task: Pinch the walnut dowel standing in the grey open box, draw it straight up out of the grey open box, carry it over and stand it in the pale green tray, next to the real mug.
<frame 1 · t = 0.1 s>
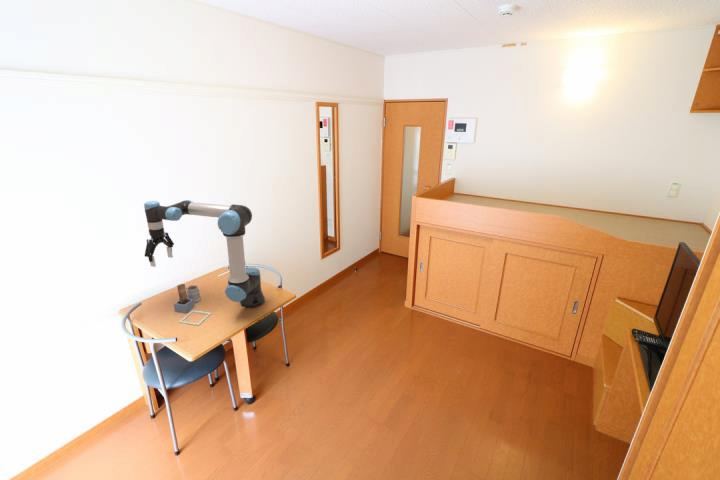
hand: (162, 261, 198), 28 cm above the table, fingers open, 13 cm apart
grey open box: (185, 310, 201), on the table
dowel: (184, 309, 201), point 1 cm above the table, touching grey open box
mug: (191, 301, 211), on the table
tray: (195, 319, 193), on the table
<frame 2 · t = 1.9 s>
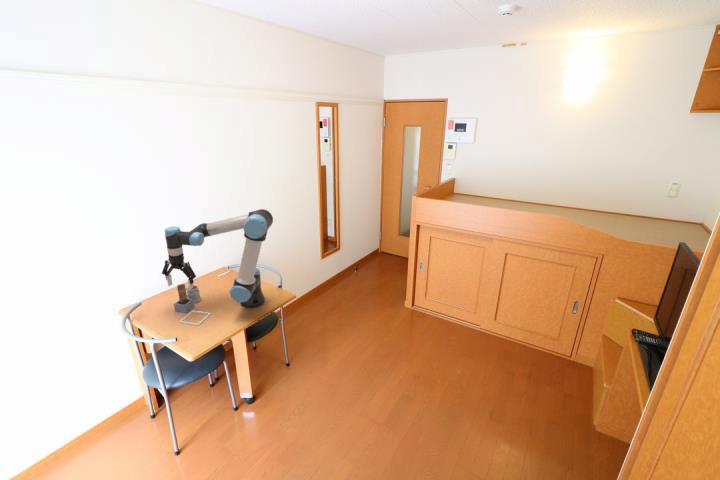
hand: (180, 286, 195), 16 cm above the table, fingers open, 13 cm apart
nothing on the table moved.
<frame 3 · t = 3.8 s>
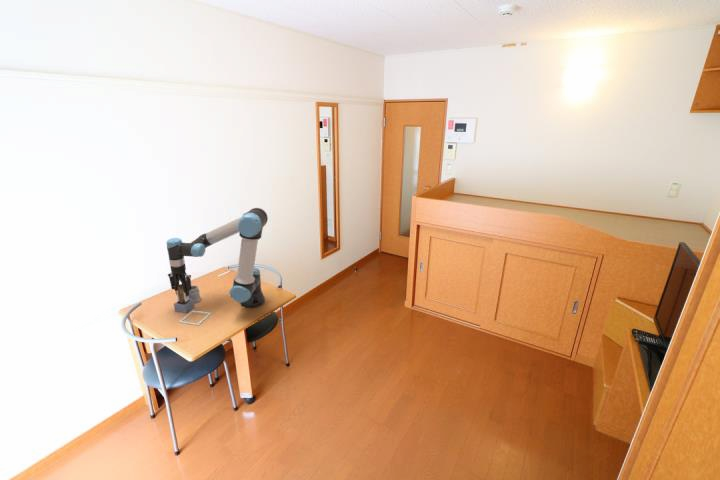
hand: (183, 299, 198), 7 cm above the table, fingers closed on dowel, 4 cm apart
dowel: (184, 309, 201), point 1 cm above the table, touching grey open box, gripper
everything else where it was.
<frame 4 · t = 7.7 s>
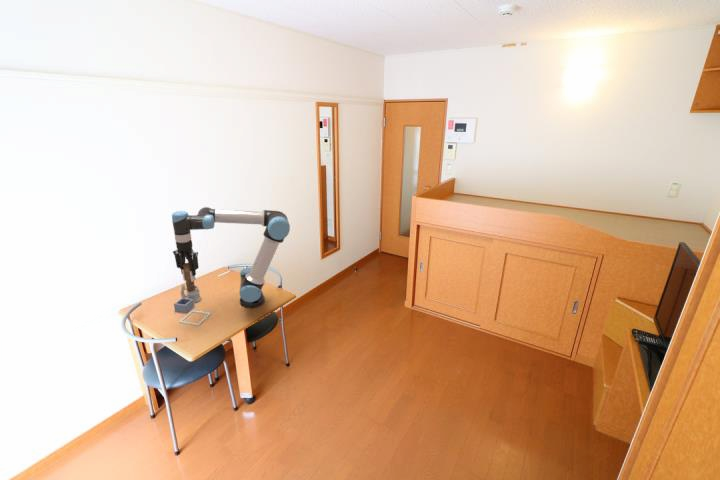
hand: (189, 279, 183), 26 cm above the table, fingers closed on dowel, 4 cm apart
dowel: (191, 290, 186), point 19 cm above the table, touching gripper
everything else where it was.
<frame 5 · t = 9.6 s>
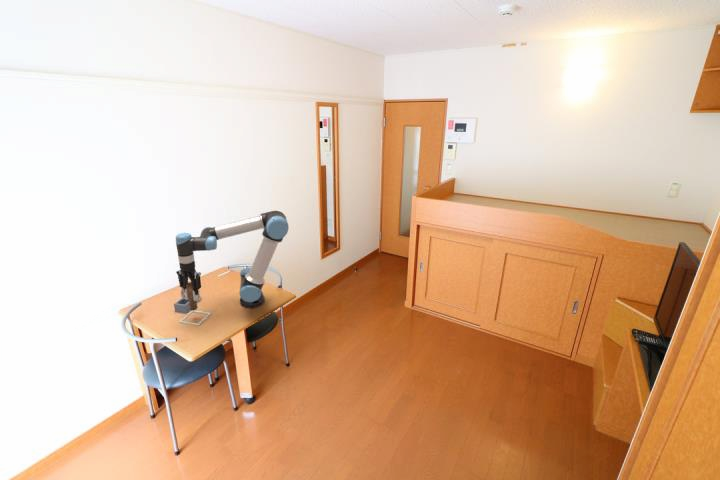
hand: (192, 298, 188), 14 cm above the table, fingers closed on dowel, 4 cm apart
dowel: (193, 308, 190), point 7 cm above the table, touching gripper
everything else where it was.
when the fingers open (8 cm above the table, at t = 11.5 s): dowel stays where it is, resting on tray.
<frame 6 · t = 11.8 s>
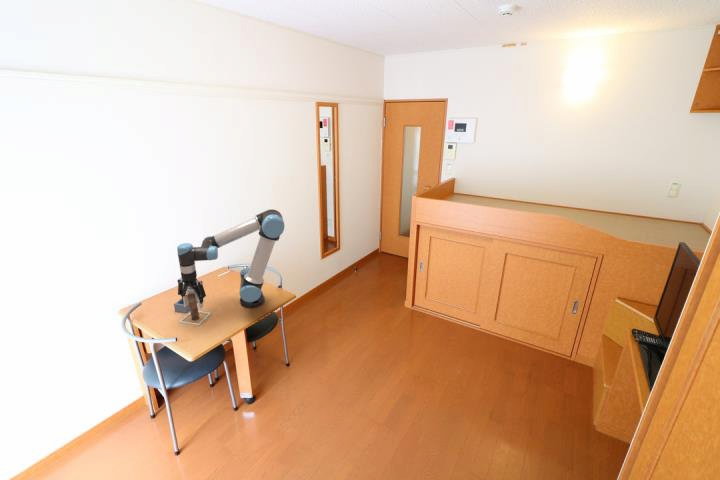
hand: (193, 306, 190), 9 cm above the table, fingers open, 8 cm apart
dowel: (195, 318, 192), point 1 cm above the table, touching tray
everything else where it was.
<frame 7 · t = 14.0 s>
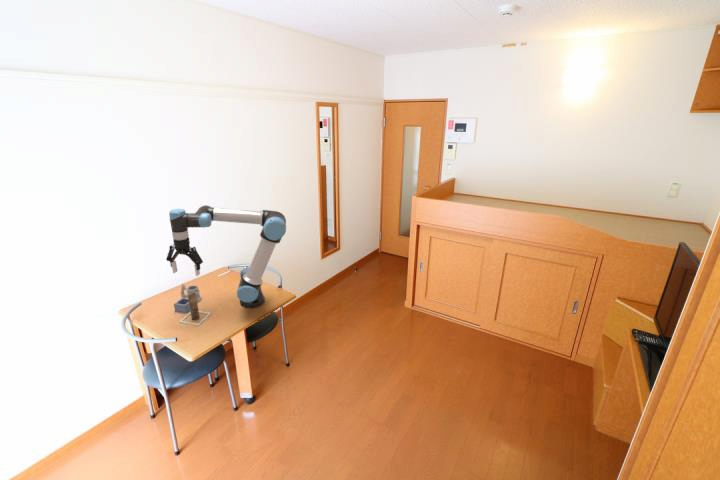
hand: (186, 273, 185), 28 cm above the table, fingers open, 13 cm apart
nothing on the table moved.
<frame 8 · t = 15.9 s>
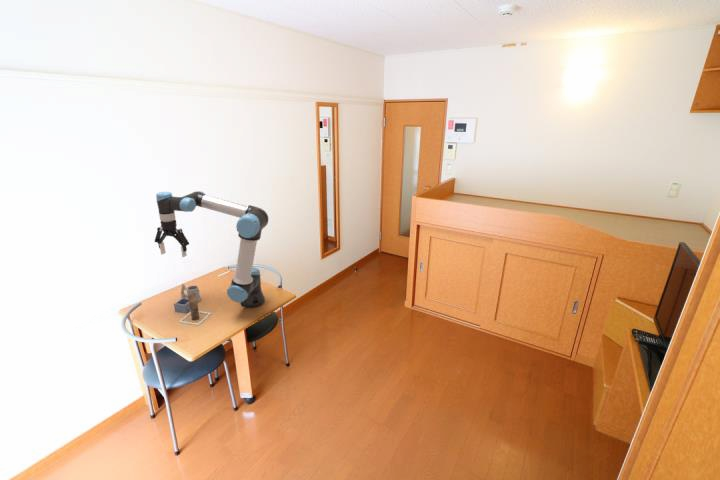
hand: (173, 255, 192), 35 cm above the table, fingers open, 13 cm apart
nothing on the table moved.
at the end: dowel inside the target area on the tray (0.0 cm from its centre), point 0.6 cm above the tray's base; dowel tilted 0°; the gripper is holding nothing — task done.
